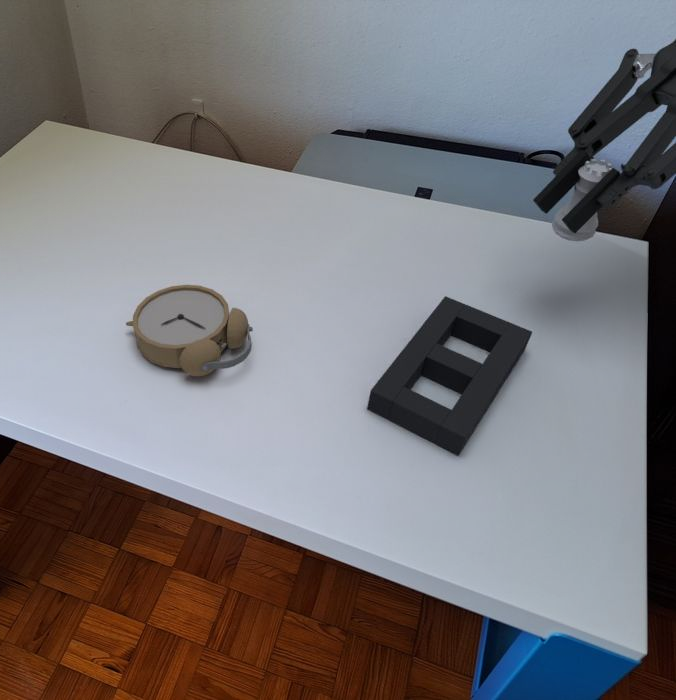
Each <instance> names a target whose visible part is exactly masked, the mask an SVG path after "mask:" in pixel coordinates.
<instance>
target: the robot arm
mask: <svg viewBox="0 0 676 700" xmlns="http://www.w3.org/2000/svg"><path fill="white" fill-rule="evenodd" d="M649 70H651V71H650V76H649V77H648V78H647V79H646V80H645V81H643V82H642V83H641V84H640V85H638V87H636V89H635V92H634V93H633V94H632V95H631V96H630V97H628V98H627V99H626V100H625V101H624V102H623V103H621V102H622V101H623V100H624V98H625V97H627V95H628V94H629V93H630V91H632V89H633V88H634V86H635V85H636V83H637V82H638V79H643V78H644V77H645V74H646V73H647V72H648V71H649ZM620 103H621V104H620ZM661 106H666V109H665V111H664V112H663V114H662V115H661V117H660V118H659V120H657V122H656V123H655V125H654V126H653V128H651V130H650V131H649V133H648V134H647V136H646V137H645V138H644V139H643V140H642V142H641V143H640V145H639V146H638V147H637V149H636V150H635V151H634V152H633V154H632V155H631V156H630V158H629V159H628V161H627V162H626V163H621V164H620V169H621V172H620V171H619V170H618V169H616V168H614V167H612V169H611V170H610V171H609V172H608V173H607V174H606V175H605V176H604V177H603V178H602V179H601V180H600V181H599V182H598V183H597V184H596V185H595V186H594V187H593V188H592V189H591V190H590V191H589V192H588V193H587V194H586V195H585V196H584V197H583V198H582V199H581V200H580V201H579V202H578V203H577V204H576V205H575V206H574V207H573V208H572V210H571V211H570V212H569V213H568V214H567V215H566V216H565V217H564V218H563V219H562V221H563V222H564V224H565V225H566V226H567V227H568V229H569V230H570V231H572V232H573V233H576V232H577V231H578V230H579V229H580V228H581V227H582V226H583V225H584V224H585V223H586V222H587V221H588V220H589V219H590V218H591V217H592V216H593V215H594V214H595V213H596V212H597V213H598V211H599V210H601V209H602V208H603V209H604V210H606V211H608V210H610V209H612V208H613V207H614V206H615V205H617V203H618V202H619V201H620V200H621V199H622V198H623V197H624V196H625V195H627V193H628V192H630V191H631V190H632V189H633V188H634V187H638V186H643V187H649V188H650V189H652V190H657V189H660V188H661V187H663V185H664V184H666V183H667V182H668V181H669V180H671V179H672V178H673V177H674V176H675V175H676V142H675V143H673V141H674V140H675V138H676V38H675V39H674V40H673V41H672V42H671V43H669V44H667V45H665V46H664V47H662V48H660V49H659V50H657V52H656V53H639V50H638V49H637V48H630V49H628V50H626V51H625V53H624V54H623V57H622V60H621V62H620V64H619V66H618V69H617V70H616V71H615V73H614V74H613V75H612V76H611V77H610V79H608V80H607V82H606V83H605V84H604V86H603V87H602V88H601V89H600V90H599V92H598V93H597V94H596V95H595V96H594V98H593V99H592V100H591V101H590V102H589V104H588V105H587V106H586V107H585V108H584V110H583V111H582V112H581V113H580V114H579V116H578V117H577V118H576V119H575V120H574V121H573V123H572V124H571V125H570V126H569V127H568V129H567V133H568V134H569V136H570V138H571V140H572V141H573V142H574V146H573V148H572V149H571V150H570V151H569V153H567V155H565V157H564V158H563V159H562V160H561V161H560V162H559V163H558V164H557V165H556V166H555V167H554V168H553V171H552V173H553V175H554V177H553V179H551V180H550V181H549V182H548V184H546V186H544V188H543V189H541V191H540V192H539V193H538V194H537V195H536V196H535V197H534V198H533V199H532V201H533V203H534V204H535V205H536V206H537V207H538V208H539V210H540V211H541V212H543V213H544V214H545V215H547V214H548V213H549V212H550V211H551V210H552V209H553V208H554V207H555V206H556V205H557V204H558V203H559V202H560V201H561V200H562V199H563V198H564V197H565V196H566V195H567V194H568V193H569V192H570V191H571V189H573V188H574V187H575V186H576V183H577V181H579V180H580V176H579V172H578V170H579V169H580V168H581V167H583V166H584V165H585V163H586V162H587V161H589V162H590V160H591V159H595V157H594V156H596V155H597V154H599V152H600V151H602V150H603V149H605V148H606V147H607V146H608V145H610V144H611V143H613V141H615V140H616V139H617V138H618V137H620V136H621V135H622V134H623V133H625V132H626V131H627V130H628V129H629V128H631V127H633V125H635V124H636V123H637V122H639V120H641V119H642V118H643V117H644V116H646V115H647V114H648V113H654V111H656V110H657V109H658V108H660V107H661ZM672 143H673V144H672ZM671 144H672V145H671ZM670 145H671V146H670ZM669 146H670V147H669ZM668 147H669V148H668Z"/></svg>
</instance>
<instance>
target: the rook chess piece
mask: <svg viewBox="0 0 676 700" xmlns="http://www.w3.org/2000/svg"><path fill="white" fill-rule="evenodd" d="M596 162H597V159H596V158H594V159H591V160H590V162H589V161H587V162H586V163H585V165H584V166H583V167H581V168H580V169H579V170H578V172H579V176H580V180H579V181H577V183H576V184H575V190H574V192H573V194H572V196H571V197H570V199H569V201H568V203H566V204H564V205H563V206H562V208H560V209H558V211H557V213H556V214H555V215H554V218H553V219H552V221H551V228H552V230H553V232H554V233H555V234H556V235H557V236H558V237H560V238H561V239H564V240H566V241H571V242H577V243H578V242H585V241H587V240H590V239H591V238H593V237H594V236H595V234H596V233H597V231H596V230H597V228H598V226H599V218H598V211H597V212H596V213H595V214H594V215H593V216H592V217H591V218H590V219H589V220H588V221H587V222H586V223H585V224H584V225H583V226H582V227H581V228H580V229H579V230H578V231H577V232H576V233H573V232H572V231H570V230H569V229H568V227H567V226H566V225H565V224H564V222H563V221H562V219H563V218H564V217H565V216H566V215H567V214H568V213H569V212H570V211H571V210H572V208H573V207H574V206H575V205H576V204H577V203H578V202H579V201H580V200H581V199H582V198H583V197H584V196H585V195H586V194H587V193H588V192H589V191H590V190H591V189H592V188H593V187H594V186H595V185H596V184H597V183H598V182H599V181H600V180H601V179H602V178H603V177H604V176H605V175H606V174H607V173H608V172H609V171H610V170H611V169H612V168H613V164H612V163H611V162H608V163H606V160H604V159H600V160H599V162H598V163H596ZM605 164H606V165H605Z"/></svg>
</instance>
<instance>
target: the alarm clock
mask: <svg viewBox="0 0 676 700" xmlns="http://www.w3.org/2000/svg"><path fill="white" fill-rule="evenodd" d="M125 325H126V326H128V327H132V329H133V331H134V334H135V340H136V345H137V348H138V349H139V352H140V354H141V355H142V356H143V357H144V358H145V359H147V360H148V361H149V362H151V363H153V364H155V365H158V366H160V367H165V368H173V369H182V371H184V372H185V373H186V374H187V375H189V376H192V377H204V376H207V375H209V374H211V373H212V372H213V371H215V370H223V369H229V368H232V367H236V366H237V365H240V364H241V363H242V362H244V361H245V360H246V359H247V358H248V356H250V353H251V352H252V347H253V345H252V336H251V334H250V333H251V332H253V329H254V328H253V327H252V326H250V323H249V320H248V317H247V315H246V313H245V312H244V311H243V310H242V309H240V308H237V307H232V308H231V309H230V307H229V303H228V302H227V301H226V299H225V298H224V296H223V295H222V294H220V293H218V292H217V291H216V290H214V289H213V288H209V287H206V286H202V285H199V284H198V285H197V284H179V285H172V286H169V287H166V288H162V289H159V290H156V291H155V292H153V293H151V294H150V295H148V296H146V297H145V298H144V299H143V300H142V301H141V302H140V303H139V304H137V306H136V308H135V311H134V312H133V314H132V320H130V321H126V322H125ZM246 340H248V344H247V345H246V347H245V349H244V350H243V351H242V352H241V353H239V354H238V355H237V356H235V357H233V358H231V359H227V360H221V356H222V355H221V353H222V352H223V351H224V350H225V348H226V347H228V349H233V350H234V349H238V348H240V347H242V345H244V343H245V342H246Z"/></svg>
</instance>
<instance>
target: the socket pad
mask: <svg viewBox="0 0 676 700" xmlns="http://www.w3.org/2000/svg"><path fill="white" fill-rule="evenodd" d="M532 334H533V331H532V330H529V329H527V328H525V327H523V326H520V325H517V324H515V323H513V322H510V321H507V320H505V319H502V318H500V317H497V316H496V315H493V314H491V313H487V312H485V311H483V310H482V309H481V310H480V309H478V308H476V307H473V306H472V305H468V304H466V303H463V302H461V301H458V300H456V299H454V298H451V297H449V296H446V295H445V296H443V298H442V299H441V301H440V302H439V304H437V306H436V307H435V308H434V310H433V311H432V312H431V314H430V315H429V316H428V317H427V318H426V320H425V321H424V322H423V323H422V324H421V326H420V328H419V329H418V330H417V331H416V332H415V334H414V335H413V336H412V337H411V339H410V340H409V341H408V342H407V344H406V345H405V346H404V348H403V349H402V350H401V351H400V352H399V354H398V355H397V356H396V357H395V359H394V360H393V361H392V363H391V364H390V365H389V367H388V368H387V369H386V370H385V371H384V373H383V374H382V376H381V377H380V378H379V379H378V380H377V382H376V383H375V384H374V386H373V387H372V388H371V389H370V392H369V396H368V401H367V406H366V409H367V410H369V411H371V412H373V413H374V414H377V415H378V416H380V417H381V418H384V419H386V420H388V421H390V422H391V423H394V424H396V425H398V426H399V427H402V428H404V429H405V430H407V431H409V432H411V433H413V434H415V435H417V436H419V437H421V438H423V439H424V440H427V441H428V442H431V443H433V444H434V445H436V446H437V447H440V448H442V449H444V450H446V451H448V452H450V453H452V454H454V455H456V456H460V454H461V453H462V451H463V450H464V448H465V446H466V445H467V443H468V441H469V440H470V439H471V437H472V435H473V433H474V432H475V431H476V429H477V427H478V426H479V424H480V422H481V421H482V419H483V418H484V416H485V415H486V413H487V411H488V410H489V408H490V407H491V405H492V404H493V402H494V400H495V398H496V397H497V396H498V394H499V392H500V391H501V389H502V387H503V386H504V384H505V382H506V381H507V379H508V378H509V376H510V375H511V373H512V371H513V370H514V369H515V367H516V365H517V364H518V362H519V361H520V359H521V357H522V355H523V354H524V352H525V351H526V349H527V347H528V343H529V342H530V339H531V336H532ZM451 336H453V337H455V338H457V339H460V340H462V341H464V342H466V343H468V344H470V345H473V346H475V347H477V348H480V349H482V350H484V351H487V352H489V353H488V355H487V356H486V358H485V359H484V361H483V362H480V361H478V360H475V359H473V358H471V357H468V356H466V355H464V354H462V353H459V352H457V351H455V350H453V349H450V348H448V347H446V346H444V345H445V344H446V342H447V340H449V338H450V337H451ZM421 376H422V377H425V378H426V379H429V380H430V381H433V382H436V383H437V384H439V385H442V386H444V387H446V388H448V389H450V390H452V391H454V392H456V393H459V394H461V396H460V397H459V398H458V400H457V401H456V403H455V404H454V406H453V407H452V408H449V407H447V406H445V405H443V404H440V402H439V403H438V402H437V401H434V400H432V399H431V398H428V397H426V396H424V395H422V394H420V393H419V392H416V391H414V390H412V388H413V387H414V385H415V384H416V383H417V381H418V380H419V379H420V377H421Z"/></svg>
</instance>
